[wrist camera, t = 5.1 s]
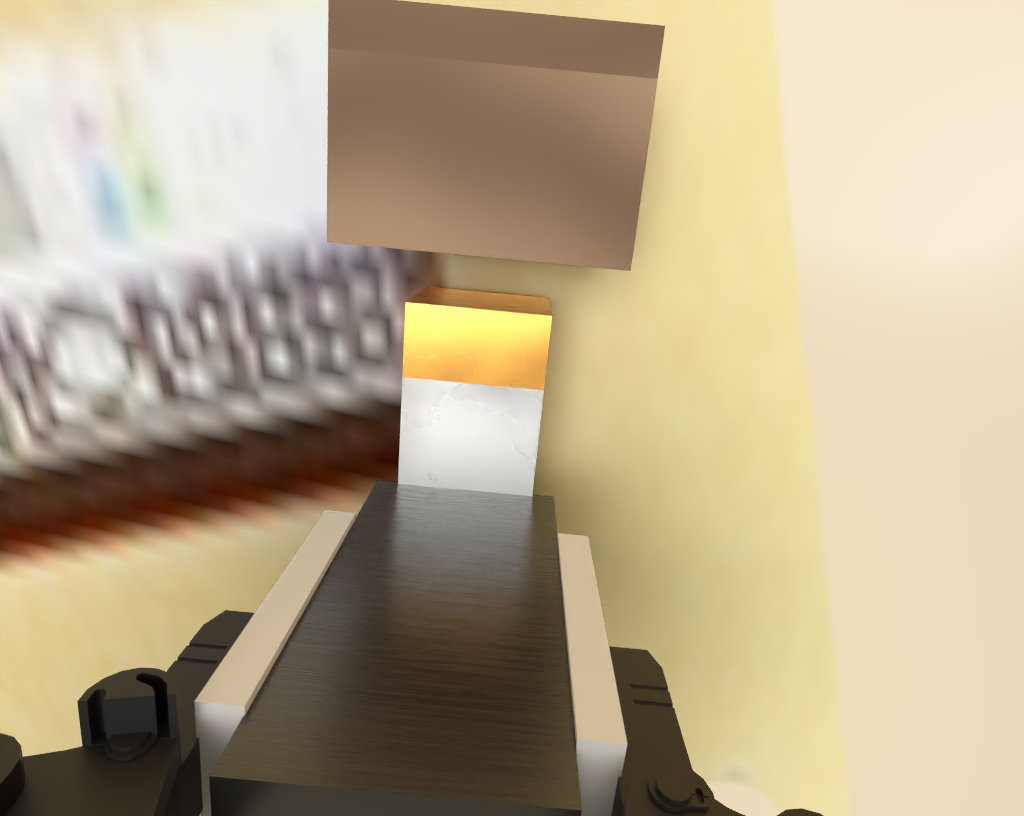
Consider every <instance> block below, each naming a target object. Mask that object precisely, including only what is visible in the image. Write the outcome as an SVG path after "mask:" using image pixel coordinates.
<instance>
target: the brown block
mask: <svg viewBox="0 0 1024 816" xmlns="http://www.w3.org/2000/svg"><path fill="white" fill-rule="evenodd" d="M664 29H665V26H660V25H650V24H639V23H629V22H618V21H608V20H597V19H587V18H576V17H566V16H555V15H545V14H534V13H524V12H513V11H503V10H492V9H482V8H471V7H461V6H451V5H440V4H430V3H419V2H409V1H398V0H329V22H328V167H327V242H332V243H343V244H353V245H364V246H375V247H385V248H396V249H406V250H417V251H427V252H438V253H449V254H459V255H470V256H480V257H491V258H502V259H512V260H523V261H533V262H544V263H554V264H565V265H576V266H586V267H597V268H607V269H618V270H629V271H630V270H631V263H632V256H633V249H634V242H635V235H636V227H637V220H638V213H639V206H640V199H641V192H642V185H643V178H644V171H645V164H646V157H647V150H648V143H649V136H650V128H651V121H652V114H653V107H654V100H655V93H656V86H657V79H658V72H659V65H660V58H661V51H662V44H663V36H664Z"/></svg>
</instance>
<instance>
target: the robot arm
mask: <svg viewBox="0 0 1024 816" xmlns="http://www.w3.org/2000/svg"><path fill="white" fill-rule="evenodd" d="M355 519H356V513H352V512H342V511H332V510H325V511H324V513H323V514H322V516H321V517H320V519H319V520H318V521H317V523H316V524H315V526H314V527H313V529H312V530H311V532H310V533H309V535H308V536H307V538H306V539H305V540H304V542H303V543H302V545H301V546H300V548H299V549H298V551H297V552H296V554H295V555H294V557H293V558H292V559H291V561H290V562H289V564H288V565H287V567H286V568H285V570H284V571H283V573H282V574H281V576H280V577H279V578H278V580H277V581H276V583H275V584H274V586H273V587H272V589H271V590H270V592H269V593H268V595H267V596H266V597H265V599H264V600H263V602H262V603H261V605H260V606H259V608H258V609H257V611H256V612H255V613H248V612H238V611H228V610H226V611H224V612H223V613H221V614H219V615H218V616H216V617H215V618H213V619H212V620H210V621H209V622H207V623H206V624H204V625H203V626H202V627H201V629H200V630H199V631H198V633H197V634H196V635H195V636H194V638H193V639H192V640H191V641H190V644H189V646H186V648H185V649H184V650H183V652H182V653H181V654H180V655H179V657H178V660H177V661H175V662H174V663H173V664H172V665H171V667H170V668H169V669H168V671H167V672H165V671H162V670H160V669H155V668H137V669H131V670H126V671H121V672H119V673H116V674H114V675H111V676H109V677H106V678H104V679H102V680H101V681H99V682H98V683H96V684H95V685H93V686H92V687H90V688H89V689H88V690H87V691H86V692H85V693H84V694H83V695H82V697H81V698H80V699H79V700H78V701H77V702H78V710H79V719H80V727H81V736H82V744H83V746H82V747H78V748H74V749H69V750H65V751H58V752H52V753H45V754H39V755H32V756H26V757H23V756H22V750H21V745H20V744H19V743H18V742H17V740H16V739H15V738H14V737H12V736H8V735H5V734H1V733H0V816H199V815H200V814H201V816H211V801H210V784H209V775H210V774H211V772H212V770H213V768H214V767H215V765H216V763H217V761H218V760H219V758H220V756H221V754H222V753H223V751H224V749H225V747H226V746H227V744H228V742H229V740H230V739H231V737H232V735H233V733H234V731H235V730H236V728H237V726H238V724H239V723H240V721H241V719H242V717H243V716H244V715H245V714H246V713H247V711H248V709H249V707H250V706H251V704H252V702H253V700H254V698H255V697H256V695H257V693H258V691H259V690H260V688H261V686H262V684H263V682H264V681H265V679H266V677H267V675H268V674H269V672H270V670H271V668H272V666H273V665H274V663H275V661H276V659H277V658H278V656H279V654H280V652H281V651H282V649H283V647H284V645H285V643H286V642H287V640H288V638H289V636H290V635H291V633H292V631H293V629H294V627H295V626H296V624H297V622H298V620H299V619H300V617H301V615H302V613H303V611H304V610H305V608H306V606H307V604H308V603H309V601H310V599H311V597H312V595H313V594H314V592H315V590H316V588H317V587H318V585H319V583H320V581H321V580H322V578H323V576H324V574H325V572H326V571H327V569H328V567H329V565H330V564H331V562H332V560H333V558H334V556H335V555H336V553H337V551H338V549H339V548H340V546H341V544H342V542H343V540H344V539H345V537H346V535H347V533H348V532H349V530H350V528H351V526H352V525H353V523H354V521H355ZM557 541H558V552H559V563H560V575H561V586H562V597H563V608H564V619H565V631H566V642H567V653H568V664H569V675H570V686H571V698H572V709H573V720H574V731H575V742H576V754H577V765H578V776H579V787H580V798H581V810H582V811H581V816H745V815H742V814H740V813H738V812H736V811H733V810H731V809H729V808H727V807H726V806H724V805H723V804H721V803H720V802H718V801H717V800H715V799H714V795H713V793H712V791H711V790H710V788H709V787H708V785H707V784H706V782H705V781H704V779H703V778H701V777H700V776H699V775H698V774H696V773H695V772H694V771H693V770H692V767H691V764H690V760H689V757H688V754H687V750H686V747H685V744H684V740H683V737H682V734H681V730H680V727H679V723H678V720H677V717H676V713H675V710H674V708H673V706H672V705H673V703H672V700H671V697H670V693H669V691H668V686H667V683H666V680H665V676H664V673H663V670H662V667H661V666H660V665H659V664H658V663H657V661H656V660H655V659H654V658H653V657H652V655H651V654H650V653H649V652H648V651H647V650H641V649H630V648H620V647H610V646H609V644H608V639H607V633H606V628H605V623H604V617H603V612H602V607H601V602H600V596H599V591H598V586H597V580H596V575H595V570H594V564H593V559H592V554H591V549H590V543H589V538H588V536H582V535H572V534H562V533H558V536H557ZM777 816H823V815H821V814H820V813H816V812H812V811H809V810H805V809H789V810H785V811H784V812H782V813H780V814H779V815H777Z"/></svg>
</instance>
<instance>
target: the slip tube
mask: <svg viewBox="0 0 1024 816" xmlns="http://www.w3.org/2000/svg"><path fill="white" fill-rule="evenodd" d="M551 321H552V314H551V309H550V305H549V301H548V298H542V297H532V296H521V295H510V294H500V293H489V292H479V291H468V290H457V289H447V288H436V287H427V288H425V289H424V290H422V291H421V292H420V293H418V294H417V295H415V296H414V297H413V298H411V299H410V300H408V301H407V302H406V307H405V331H404V355H403V378H402V402H401V425H400V449H399V472H398V482H390V481H379V480H377V482H376V484H375V486H374V487H373V489H372V491H371V493H370V495H369V496H368V498H367V500H366V502H365V503H364V505H363V507H362V509H361V510H360V512H359V514H358V516H357V517H356V519H355V521H354V523H353V525H352V526H351V528H350V530H349V532H348V533H347V535H346V537H345V539H344V540H343V542H342V544H341V546H340V548H339V549H338V551H337V553H336V555H335V556H334V558H333V560H332V562H331V564H330V565H329V567H328V569H327V571H326V572H325V574H324V576H323V578H322V580H321V581H320V583H319V585H318V587H317V588H316V590H315V592H314V594H313V595H312V597H311V599H310V601H309V603H308V604H307V606H306V608H305V610H304V611H303V613H302V615H301V617H300V619H299V620H298V622H297V624H296V626H295V627H294V629H293V631H292V633H291V635H290V636H289V638H288V640H287V642H286V643H285V645H284V647H283V649H282V651H281V652H280V654H279V656H278V658H277V659H276V661H275V663H274V665H273V666H272V668H271V670H270V672H269V674H268V675H267V677H266V679H265V681H264V682H263V684H262V686H261V688H260V690H259V691H258V693H257V695H256V697H255V698H254V700H253V702H252V704H251V706H250V707H249V709H248V711H247V713H246V714H245V715H244V716H243V717H242V719H241V721H240V723H239V724H238V726H237V728H236V730H235V731H234V733H233V735H232V737H231V739H230V740H229V742H228V744H227V746H226V747H225V749H224V751H223V753H222V754H221V756H220V758H219V760H218V761H217V763H216V765H215V767H214V768H213V770H212V772H211V774H210V775H209V784H210V801H211V816H581V811H582V810H581V798H580V787H579V776H578V765H577V754H576V742H575V731H574V720H573V709H572V698H571V686H570V675H569V664H568V653H567V642H566V631H565V619H564V608H563V597H562V586H561V575H560V563H559V552H558V541H557V530H556V519H555V507H554V497H550V496H540V495H533V487H534V478H535V468H536V459H537V450H538V441H539V432H540V423H541V413H542V404H543V395H544V386H545V377H546V367H547V358H548V349H549V340H550V331H551Z"/></svg>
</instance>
